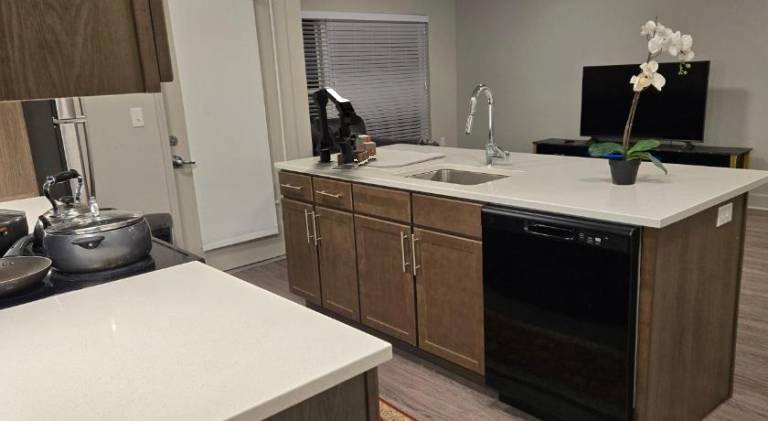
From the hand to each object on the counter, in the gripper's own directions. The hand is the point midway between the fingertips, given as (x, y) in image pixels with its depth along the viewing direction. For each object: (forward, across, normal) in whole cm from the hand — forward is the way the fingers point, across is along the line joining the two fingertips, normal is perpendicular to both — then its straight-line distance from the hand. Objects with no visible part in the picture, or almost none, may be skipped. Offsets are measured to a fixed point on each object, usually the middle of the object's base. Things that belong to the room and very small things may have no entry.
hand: (347, 154), depth 308 cm
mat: (+6, +4, 0) cm, 8 cm away
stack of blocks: (+7, -32, -2) cm, 33 cm away
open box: (+7, -8, 0) cm, 10 cm away
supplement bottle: (+5, 0, 0) cm, 5 cm away
